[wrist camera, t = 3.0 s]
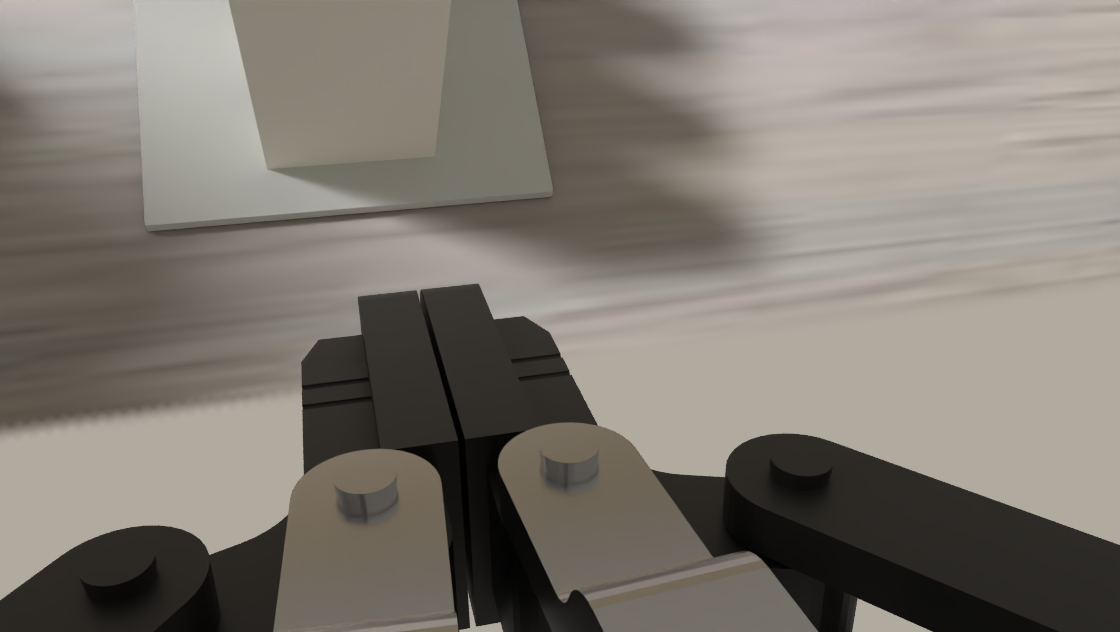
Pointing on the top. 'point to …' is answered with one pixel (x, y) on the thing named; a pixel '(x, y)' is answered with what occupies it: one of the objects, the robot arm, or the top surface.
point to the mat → (326, 190)
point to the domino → (343, 77)
